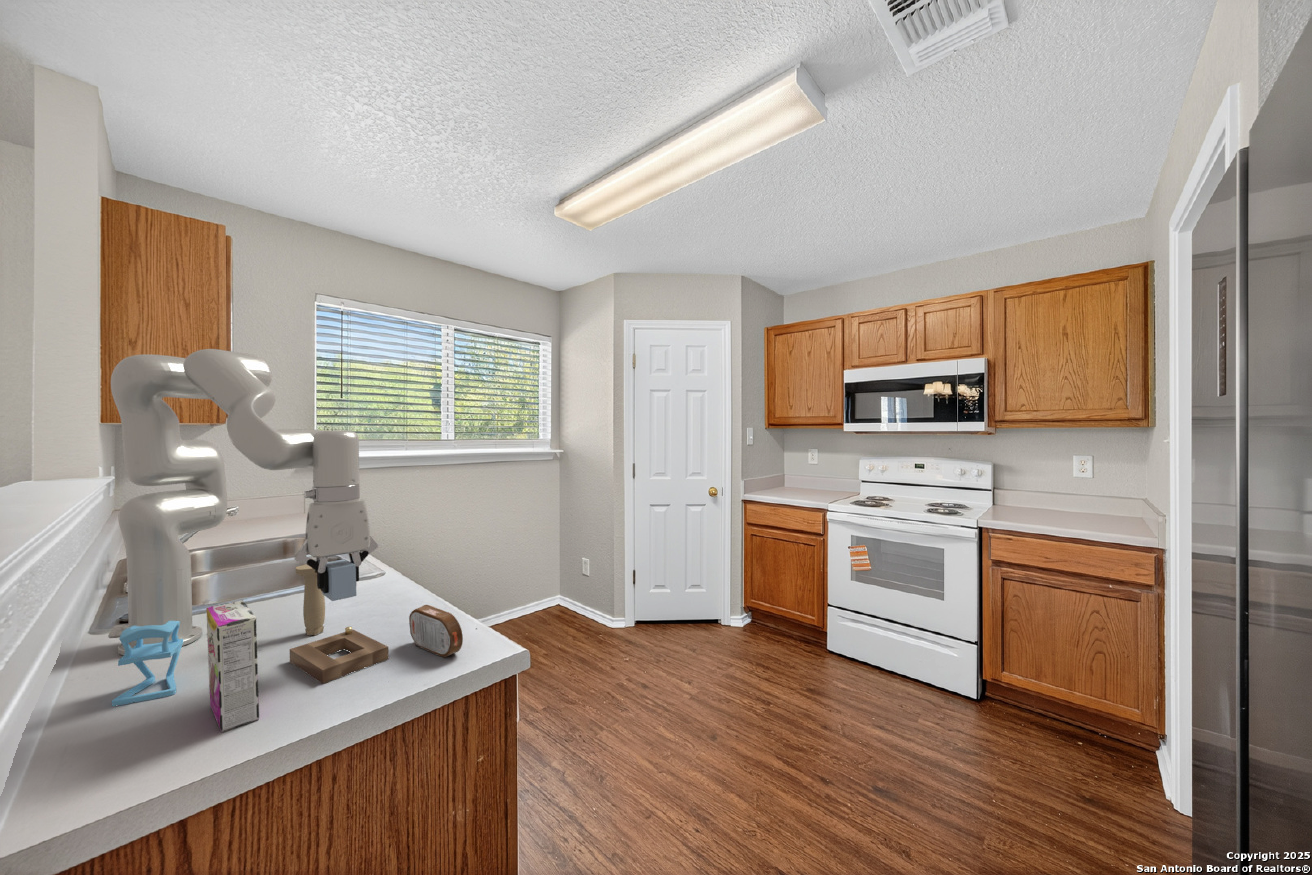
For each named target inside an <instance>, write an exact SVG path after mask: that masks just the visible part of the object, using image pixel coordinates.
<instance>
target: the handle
mask: <svg viewBox="0 0 1312 875" xmlns="http://www.w3.org/2000/svg"><path fill="white" fill-rule="evenodd" d="M295 574H296V575H297V576H300V577H302V578H303V579H304V587H303V588H304V591H303V595H304V596H303V609H302V610H303V613H302V614H303V616H302V617H303V623H304V629H305V634H306V635H307V636H308V637H310V636H317V634H318V635H319V634H322V633H323V632H324V630H325V626H324V624H325V619H326V618H325V617H326V601H325V600H326V599H325V596H324V595H323V594H322V591H321V589H318V587H317V571H316V570H315V569H313V568H312V567H310V566H309V565H306V564H302V565H298V566H296V567H295Z"/></svg>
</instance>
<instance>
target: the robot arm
mask: <svg viewBox="0 0 1312 875" xmlns="http://www.w3.org/2000/svg"><path fill="white" fill-rule="evenodd" d="M272 378H273V375H272V371H271V367H270V365H268V363H267V362H266V361H265V360H264V359H262V358H261V357H259V356H257V355H255V354H250V353H245V352H238V351H231V350H224V349H217V348H206V349H199V350H196V351H194V352H192V353H190V354H189V355H187V357H179V356H173V355H172V356H171V355H164V354H162V355H161V354H150V353H149V354H146V353H145V354H133V355H130V356H127V357H125V358H123V359H121V360H120V361H119V362H118V363H117V364H116V365H115V367H114V369H113V371H112V373H111V377H110V390H111V396H112V398H113V401H114V404H115V406H116V408H117V411H118V414H119V418H120V422H121V434H122V435H121V436H122V445H123V457H124V459H123V460H124V467H125V472H126V476H127V478H128V480H129V481H130V482H131V483H133V484H134V485H137V486H140V487H161V486H168V485H169V486H170V485H171V486H172V485H178V484H180V485H181V484H185V489H180V490H179V489H178V490H168V491H167V490H166V491H160V492H152V493H144V494H141V495H138V496H135V497H133V498H131V499H128V500H127V501H126V502H125V503H124V504H123V505H122V506H121V507H120V509H119V511H118V518H117V520H118V525H119V528H120V529H119V530H120V532H121V535H122V539H123V543H124V546H125V547H124V549H125V555H126V557H125V558H126V574H127V606H128V607H127V609H128V610H127V611H128V616H127V617H128V618H127V619H128V624H120V625H119V624H118V625H117V624H116V625H114V626H112V628H111V631H109V633H108V635H107V637H108V639H119V638H120V635H121V633H122V632H123V631H124V630H125V629H127V628H129V627H131V626H138V627H139V626H141V627H142V626H147V625H164V624H166V623H167V622H168V621H180V627H179V630H178V638H179V639H183V644H182V647H183V646H187V645H189V644H191V643H193V642H195V641H197V640H199V638H201V637H202V636H203V628H202V627H201V626H196V625H193V596H192V593H193V592H192V591H193V590H192V585H193V584H192V557H191V553H190V550H189V549H188V548H187V546H186V545H185V544H184V542H182V541H181V540H180V539H179V536H181V535H185V534H190V533H195V532H196V533H197V532H200V531H205V530H211V529H213V528H215V527H218V526H219V525H220V524H222V523H223V522H224V520H225V518H226V515H227V512H228V496H227V495H228V494H227V482H226V480H227V479H226V471H225V470H226V469H225V463H224V462H225V461H224V457H223V454H222V453H221V451H220V450H219V448H218V447H217V446H216V445H215V444H214V443H212V442H210V441H208V440H203V439H182V436H181V432H180V431H181V429H180V420H179V418H178V415H177V414H176V413H175V411H174V410H173V409H172V407H171V406H170V405H169V404H168V403H167V402H166V401H164V400H163V398H176V399H177V398H178V399H195V400H196V399H198V400H210V401H212V402H213V403H214V404H216V405H217V406H218V408H220V409H221V410H222V411H223V412H224V413H225V414H227V419H226V430H227V435H228V438H229V440H230V442H231V444H232V445H233V446H234V447H235V448H236V449H237V450H238V452H240V453H241V454H242V455H243V456H244V457H246V458H247V459H248V460H249V461H250V462H252V463H253V464H254V465H256V466H258V467H260V468H262V469H265V470H269V471H282V470H283V471H284V470H292V469H293V470H294V469H305V468H312V477H313V478H312V479H313V480H312V481H313V482H312V485H313V486H312V488H310V489H309V490H304V495H303V496H304V499H310V500H312V501H313V502H310V503H309V506H308V509H307V510H308V511H307V516H306V523H305V533H304V534H305V535H304V536H305V537H304V541H303V544H302V545H301V546H300V547H299V549H298V551H297V552H296V554H295V555H294V557H293V559H294V561H296V562H298V563H301V564H302V565H305V564H306V565H309V566H310V567H312V568H313V569H315V570H316V571H317V587H318V589H321V591H322V592H323V593H324V594H325V593H328V592H329V575H328V572H327V568H326V565H327V562H328V559H329V557H333V556H334V557H335V556H340V555H348V557H349V562H351V563H353V564H355V565H356V582H359V581H360V566H361V565H362V563H363V562H364V560H365V559H366V558H367V557H368V556H369V555H370V554H371V553H373V552H374V551H375V550H377V549H378V547H379V545H378V544H377V542H376V541H375V539H374V538H373V537H372V536H371V532H370V531H371V530H370V522H369V515H368V514H369V513H368V509H367V504H366V500H365V499H362V498H360V497H361V496H360V494H361V493H360V490H361V489H360V488H361V486H360V452H359V451H360V444H359V442H360V441H359V436H358V434H357V433H356V432H355V431H352V430H322V429H321V430H320V429H286V428H285V429H283V428H282V429H275V428H273V427H271V426H270V425H269V424H268V423H266V421H264V420H263V418H264V417H265V416H266V415H267V414H269V412H270V411H271V410H272V409H273V407H274V406H275V402H276V395H275V393H274V391H273V390H272V389H271V388H270V387H269V386H270V385H271V383H272V381H273V380H272ZM308 554H309V556H311V557H308V556H307V555H308ZM314 558H315V559H314ZM172 633H173V632H172ZM172 633H171V635H170V636H169V640H168V641H172V637H171V636H172ZM163 639H164V638H145V639H143V645H145V644H155V643H161V642H163ZM128 644H129V645H130V647H131V649H132V648H133V647H134V646H136V641H132V642H129V643H128ZM117 652H118V654H119V655H122V656H124V654H125V649H124V647H123V645H122V643H120V644H119V645H118V647H117Z"/></svg>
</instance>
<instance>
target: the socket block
mask: <svg viewBox="0 0 1312 875" xmlns="http://www.w3.org/2000/svg"><path fill="white" fill-rule="evenodd" d="M344 629H345V630H344V631H343V632H340V633H337V634H333V635H331V636H328V637H324V638H321V639H318V640H314V641H311V642H308V643H305V644H302V645H298V646H296V647H295V646H294V647H291V648H290V649H289V663H290V664H292V665H293V666H295V667H297V668H298V669H300V670H301V671H303V672H304V673H306V674H307V675H308V676H310V677H312V678H313V679H314V680H317V681H318V682H319V683H321V684H322V685H325V684H327V683H330V682H332V681H331V680H333V681H335V680H337V678H338V679H340V678H342V677H341V676H343V677H346V676H348V675H350V674H349V673H351V672H354V671H356V672H359V671H361V670H360V669H362V670H364V669H365V668H364V667H367V668H369V667H372V666H374V664H375V665H377V664H379V663H382V661H383V662H385V661H388V660H389V646H388V645H387V644H384V643H382V642H380V641H378V640H376V639H374V638H371V637H369V636H368V635H365V634H363V633H361V632H359V631H357V630H356V629H353V627H352V626H347V627H345V628H344ZM343 649H345V650H343ZM339 650H342V651H346V650H348V651H350V652H351V653H348V654H345V655H342V656H339V657H336V658H333V657H331V656H330V655H329V654H331V655H334V654H336V653H335V652H337V651H339ZM333 653H334V654H333ZM337 653H338V652H337ZM327 655H328V656H327ZM387 659H388V660H387ZM376 663H377V664H376ZM371 665H372V666H371ZM368 666H369V667H368ZM363 668H364V669H363ZM358 670H359V671H358ZM354 673H355V672H354ZM347 674H348V675H347ZM351 674H352V673H351ZM345 675H346V676H345ZM339 677H340V678H339ZM329 681H330V682H329Z"/></svg>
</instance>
